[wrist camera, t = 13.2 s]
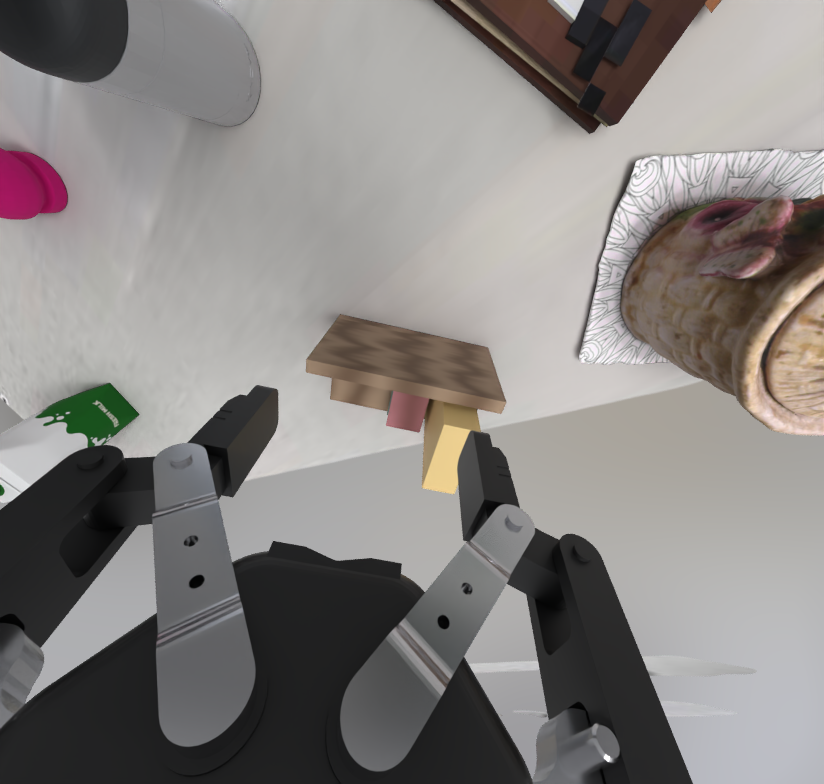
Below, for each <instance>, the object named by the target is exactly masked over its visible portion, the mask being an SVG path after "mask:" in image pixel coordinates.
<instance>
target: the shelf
mask: <svg viewBox="0 0 824 784" xmlns="http://www.w3.org/2000/svg"><path fill="white" fill-rule="evenodd" d="M306 372H307V373H312V374H316V375H321V376H326V377H330V378H332V385H331V396H330V399H332V400H336V401H341V402H346V403H351V404H356V405H360V406H365V407H370V408H375V409H380V410H384V411H388V412H387V415H388V418H387V423H386V426H390V427H395V428H400V429H405V430H410V431H415V432H420V429H421V425H422V422H423V419H425V412H426V408H427V405H428V402H429V399H434V400H438V401H443V402H448V403H452V404H457V405H462V406H467V407H471V408H476V409H477V410H478V409H481V410H485V411H490V412H495V413H499V414H501V413H502V411H503V409H504V407H505V404H506V400H505V397H504V394H503V391H502V388H501V385H500V382H499V379H498V376H497V373H496V370H495V367H494V364H493V361H492V358H491V355H490V352H489V349H488V348H487V347H483V346H479V345H474V344H470V343H465V342H461V341H456V340H452V339H448V338H443V337H439V336H434V335H430V334H425V333H421V332H416V331H412V330H408V329H403V328H399V327H394V326H390V325H385V324H381V323H377V322H372V321H368V320H363V319H359V318H354V317H350V316H346V315H341V314H340V316H339V317H338V318H337V320H336V321H335V322H334V323H333V325H332V326H331V327H330V329H329V330H328V331H327V333H326V334H325V335H324V337H323V338H322V339H321V341H320V342H319V343H318V345H317V346H316V347H315V349H314V350H313V351H312V353H311V354H310V355H309V357H308V358H307V359H306Z"/></svg>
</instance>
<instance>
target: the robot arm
mask: <svg viewBox="0 0 824 784" xmlns="http://www.w3.org/2000/svg"><path fill="white" fill-rule="evenodd" d="M0 51H1V52H3V53H4V54H6V55H7V56H9V57H11V58H12V59H14V60H16V61H18V62H20V63H22V64H24V65H26V66H28V67H30V68H32V69H35V70H38V71H40V72H43V73H46V74H49V75H53V76H56V77H59V78H63V79H66V80H70V81H73V82H76V83H80V84H83V85H86V86H90V87H93V88H96V89H100V90H103V91H107V92H110V93H114V94H117V95H121V96H124V97H127V98H131V99H134V100H138V101H141V102H144V103H148V104H151V105H154V106H158V107H161V108H164V109H168V110H171V111H174V112H178V113H181V114H184V115H188V116H191V117H194V118H197V119H200V120H204V121H207V122H211V123H214V124H218V125H222V126H235V125H238V124H241V123H243V122H244V121H246V120H247V119H248V118H249V117H250V116H251V114H252V113H253V112H254V110H255V107H256V105H257V103H258V99H259V95H260V81H261V80H260V71H259V65H258V61H257V58H256V54H255V52H254V49H253V47H252V44H251V42H250V40H249V38H248V37H247V35H246V33H245V32H244V30H243V29H242V27H241V26H240V25H239V24H238V22H237V21H236V20H235V19H234V18H233V17H232V16H231V15H230V14H228V13H227V12H226V11H225V10H224V9H223V8H222V7H220V6H219V5H218V4H217V3H216V2H215V1H213V0H0ZM277 425H278V390H277V389H274V388H269V387H264V386H259V385H257V386H255V387H254V388H253V389H252V390H251V392H250V393H249V394H248V395H247V396H245V395H238V396H236V397H234V398H232V399H230V400H228V401H227V402H226V403H225V404H224V405H223V406H222V407H221V408H220V411H218V412H217V413H216V414H215V415H214V416H213V418H211V419H210V420H209V421H208V422H207V423H206V424H205V425H204V426H203V427H202V428H201V429H200V430H199V431H198V432H197V433H196V434H195V435H194V436H193V437H192V439H191V440H190V441H189V442H188V443H182V444H177V445H173V446H170V447H168V448H166V449H164V450H163V451H161V452H160V453H159V454H158V455H157V456H156V457H141V458H124V456H123V453H122V451H121V450H120V449H119V448H117V447H114V446H109V445H99V446H92V447H88V448H84V449H81V450H79V451H76V452H74V453H72V454H71V455H69V456H67V457H66V458H65V459H63V460H62V461H61V462H60V463H58V464H57V465H56V466H55V467H53V468H52V469H51V470H50V471H48V472H47V473H46V474H45V475H43V476H42V477H41V478H40V479H38V480H37V481H36V482H35V483H33V484H32V485H31V486H30V487H28V488H27V489H26V490H25V491H23V492H22V493H21V494H20V495H18V496H17V497H16V498H15V499H13V500H12V501H11V502H10V503H8V504H7V505H6V506H5V507H3V508H2V509H1V510H0V784H693V783H692V780H691V778H690V775H689V773H688V770H687V768H686V765H685V763H684V760H683V758H682V755H681V753H680V750H679V748H678V746H677V743H676V741H675V738H674V736H673V733H672V731H671V728H670V726H669V723H668V721H667V718H666V716H665V713H664V711H663V708H662V706H661V703H660V701H659V698H658V696H657V693H656V691H655V689H654V686H653V684H652V681H651V679H650V676H649V674H648V671H647V669H646V666H645V664H644V661H643V659H642V656H641V654H640V652H639V649H638V647H637V644H636V642H635V639H634V637H633V634H632V632H631V629H630V627H629V624H628V622H627V619H626V617H625V614H624V612H623V609H622V607H621V604H620V602H619V599H618V597H617V595H616V592H615V589H614V587H613V585H612V582H611V580H610V577H609V575H608V572H607V570H606V567H605V565H604V562H603V560H602V558H601V556H600V554H599V552H598V551H597V550H596V548H595V547H594V546H593V545H592V544H591V543H589V542H588V541H587V540H586V539H584V538H582V537H580V536H578V535H575V534H566V535H564V536H562V537H561V539H560V540H558V539H556V538H554V537H552V536H550V535H548V534H546V533H544V532H542V531H540V530H538V529H536V528H535V526H534V523H533V521H532V520H531V518H530V517H529V515H528V514H527V513H526V512H524V511H523V510H522V509H520V507H519V503H518V499H517V496H516V492H515V488H514V485H513V481H512V478H511V474H510V471H509V466H508V463H507V459H506V457H505V456H504V454H503V453H502V452H501V450H500V449H499V448H496V447H492V443H491V439H490V435H489V434H488V433H483V432H478V431H473V430H471V431H470V432H469V434H468V436H467V439H466V441H465V444H464V446H463V449H462V451H461V454H460V456H459V460H458V465H457V474H458V485H459V497H460V507H461V520H462V531H463V540H464V541H467V542H466V543H465V544H464V546H463V547H462V548H461V549H460V550H459V552H458V553H457V554H456V556H455V557H454V558H453V559H452V560H451V561H450V563H449V564H448V565H447V566H446V568H445V569H444V570H443V571H442V572H441V574H440V575H439V576H438V577H437V579H436V580H435V581H434V582H433V584H432V585H431V586H430V587H429V588H428V590H427V591H426V592H424V591H423V590H422V589H421V588H420V587H419V586H418V585H417V584H416V583H415V582H413V581H412V580H411V579H409V578H407V577H406V576H404V575H402V574H401V565H402V564H401V563H395V562H390V561H384V560H378V559H372V558H367V559H355V560H343V561H335V560H333V559H331V558H328V557H326V556H324V555H322V554H320V553H318V552H316V551H314V550H311V549H309V548H307V547H304V546H298V545H293V544H287V543H281V542H276V541H273V543H272V545H271V547H270V550H269V551H267V552H260V553H255V554H252V555H248V556H245V557H243V558H241V559H238V560H236V561H234V562H232V560H231V556H230V551H229V546H228V542H227V538H226V533H225V529H224V525H223V519H222V515H221V510H220V506H219V501H218V500H219V498H220V497H221V495H223V496H229V497H234V495H235V494H236V492H237V491H238V489H239V487H240V486H241V484H242V483H243V481H244V480H245V478H246V477H247V475H248V474H249V472H250V470H251V469H252V467H253V466H254V464H255V463H256V461H257V460H258V458H259V457H260V455H261V453H262V452H263V450H264V449H265V447H266V446H267V444H268V443H269V441H270V440H271V438H272V436H273V435H274V433H275V431H276V428H277ZM146 524H153V543H154V564H155V583H156V604H157V613H156V614H154V615H153V616H151V617H150V618H148V619H147V620H145V621H144V622H143V623H141V624H140V625H138V626H137V627H135V628H134V629H132V630H131V631H129V632H128V633H126V634H125V635H123V636H122V637H120V638H119V639H117V640H116V641H114V642H113V643H111V644H110V645H108V646H107V647H105V648H104V649H102V650H101V651H100V652H98V653H97V654H95V655H94V656H92V657H91V658H89V659H88V660H86V661H85V662H83V663H82V664H80V665H79V666H77V667H76V668H74V669H73V670H71V671H70V672H68V673H67V674H66V675H64V676H62V677H61V678H60V679H58V680H57V681H55V682H54V683H52V684H51V685H49V686H48V687H46V688H45V689H44V690H42V691H41V692H40V693H38V694H37V695H36V696H34V697H33V698H32V699H31V700H29V701H28V702H27V703H26V704H25V702H26V699H27V696H28V695H29V693H30V691H31V689H32V686H33V685H34V683H35V681H36V680H37V678H38V677H39V675H40V673H41V670H42V668H43V664H44V654H43V652H42V650H41V649H40V648H41V647H42V645H43V644H44V643H45V642H46V640H47V639H48V638H49V637H50V635H51V634H52V633H53V631H54V630H55V629H56V628H57V626H58V625H59V624H60V623H61V621H62V620H63V619H64V618H65V616H66V615H67V614H68V613H69V611H70V610H71V609H72V608H73V606H74V605H75V604H76V603H77V601H78V600H79V599H80V598H81V596H82V595H83V594H84V593H85V591H86V590H87V589H88V588H89V586H90V585H91V584H92V582H93V581H94V580H95V579H96V577H97V576H98V575H99V574H100V572H101V571H102V570H103V569H104V567H105V566H106V565H107V564H108V562H109V561H110V560H111V558H112V557H113V556H114V555H115V553H116V552H117V551H118V550H119V548H120V547H121V546H122V545H123V543H124V542H125V541H126V539H127V538H128V537H129V536H130V534H131V533H132V532H133V531H134V530H135V528H136V527H137V526H138V525H146ZM506 584H508V585H510V586H512V587H514V588H516V589H518V590H519V591H521V592H523V593H525V594H526V595H527V601H528V606H529V611H530V617H531V623H532V629H533V634H534V639H535V645H536V651H537V657H538V662H539V668H540V674H541V679H542V684H543V690H544V696H545V702H546V707H547V713H548V718H549V721H548V722H546V723H545V724H543V725H542V727H541V728H540V730H539V732H538V735H537V741H536V753H537V763H536V770H535V774H534V777H533V779H532V778H531V776H530V773H529V771H528V768H527V766H526V764H525V761H524V759H523V758H522V755H521V754H520V752H519V750H518V748H517V747H516V745H515V743H514V742H513V740H512V738H511V736H510V735H509V733H508V731H507V730H506V728H505V726H504V724H503V723H502V721H501V719H500V718H499V716H498V714H497V713H496V711H495V709H494V707H493V706H492V704H491V702H490V701H489V699H488V697H487V695H486V694H485V692H484V690H483V689H482V687H481V685H480V683H479V682H478V680H477V679H476V677H475V675H474V673H473V671H472V670H471V668H470V666H469V665H468V663H467V661H466V659H465V658H464V655H465V654H466V652H467V650H468V649H469V647H470V645H471V643H472V642H473V640H474V638H475V637H476V635H477V633H478V632H479V630H480V628H481V626H482V625H483V623H484V621H485V620H486V618H487V616H488V615H489V613H490V611H491V609H492V607H493V606H494V604H495V603H496V601H497V599H498V598H499V596H500V594H501V592H502V591H503V589H504V587H505V586H506Z"/></svg>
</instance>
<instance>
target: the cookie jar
mask: <svg viewBox="0 0 824 784" xmlns="http://www.w3.org/2000/svg"><path fill="white" fill-rule="evenodd" d="M598 267H599V273H598V280H597V285H596V289H595V293H594V297H593V301H592V306H591V310H590V314H589V318H588V323H587V327H586V331H585V335H584V339H583V343H582V347H581V351H580V354H579V360H580V362H581V363H587V364H595V363H600V364H603V365H605V364H609V365H611V364H614V363H624V364H634V365H635V364H649V363H657V362H664V363H667V362H672V363H673V364H675V365H676V366H678V367H679V368H681V369H682V370H684V371H685V372H687V373H689V374H690V375H692V376H694V377H697V378H701V379H704V380H706V381H708V382H709V383H711V384H712V385H713V386H715V387H716V388H718V389H720V390H722V391H723V392H726V393H729V394H731V395H734V396H736V398H737V401H739V403H740V404H741V406H742V407H743V408H744V409H746V410H747V411H748V412H749V413H750V414H751V415H752V416H753V417H754V418H756V419H757V420H759V421H760V422H762V423H763V424H764V425H765V426H766V427H768V428H769V429H771V430H773V431H776V432H782V433H786V434H795V435H818V436H824V149H823V150H820V151H808V152H800V151H799V152H792V151H791V150H783V149H769V150H765V151H752V152H731V153H702V154H694V155H689V156H687V155H677V156H675V155H674V156H665V155H658V156H649V157H646V158H643V159H640V160H637V161H636V163H635V167H634V171H633V173H632V176H631V178H630V181H629V183H628V186H627V189H626V191H625V193H624V195H623V197H622V198H621V200H620V202H619V205H618V207H617V209H616V211H615V214H614V217H613V220H612V223H611V229H610V232H609V234H608V237H607V239H606V247H605V249H604V251H603V254H602V257H601V260H600V263H599V266H598Z"/></svg>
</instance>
